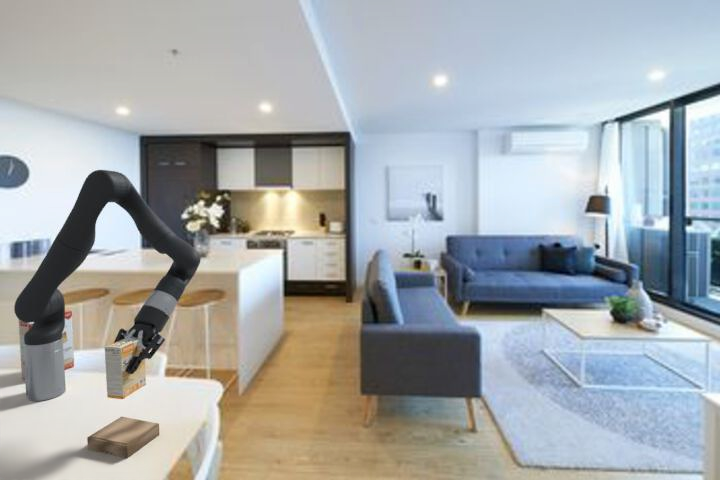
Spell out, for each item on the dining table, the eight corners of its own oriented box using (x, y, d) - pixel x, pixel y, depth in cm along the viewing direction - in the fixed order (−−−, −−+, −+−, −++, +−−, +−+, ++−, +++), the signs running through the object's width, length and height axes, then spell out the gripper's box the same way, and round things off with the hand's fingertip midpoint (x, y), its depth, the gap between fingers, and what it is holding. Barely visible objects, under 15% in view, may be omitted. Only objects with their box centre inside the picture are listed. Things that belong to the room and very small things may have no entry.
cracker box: (32, 382, 134) (28, 320, 132) (21, 379, 136) (16, 318, 134) (75, 366, 147) (72, 309, 145) (64, 363, 149) (61, 308, 147)
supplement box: (123, 400, 99) (120, 348, 98) (106, 398, 100) (103, 346, 99) (147, 384, 107) (145, 336, 106) (131, 383, 108) (128, 335, 107)
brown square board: (87, 449, 99) (87, 436, 99) (122, 427, 109) (121, 415, 108) (127, 458, 96) (127, 445, 96) (159, 434, 105) (159, 422, 105)
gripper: (127, 301, 111) (88, 360, 101) (169, 306, 106) (131, 369, 96) (145, 315, 116) (109, 372, 106) (185, 320, 111) (151, 381, 101)
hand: (120, 370), depth 101 cm, fingers closed on supplement box, 5 cm apart
